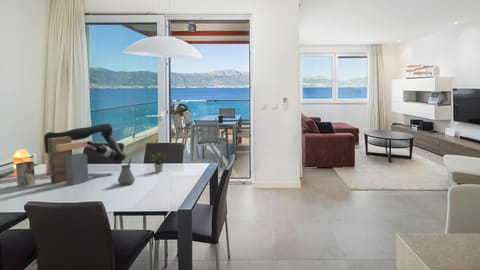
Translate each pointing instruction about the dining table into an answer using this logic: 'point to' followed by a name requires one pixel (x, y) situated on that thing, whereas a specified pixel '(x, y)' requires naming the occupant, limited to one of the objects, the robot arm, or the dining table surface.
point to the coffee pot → (126, 175)
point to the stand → (58, 159)
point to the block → (73, 145)
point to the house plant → (158, 162)
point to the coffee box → (25, 174)
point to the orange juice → (20, 158)
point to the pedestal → (76, 168)
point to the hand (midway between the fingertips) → (85, 142)
